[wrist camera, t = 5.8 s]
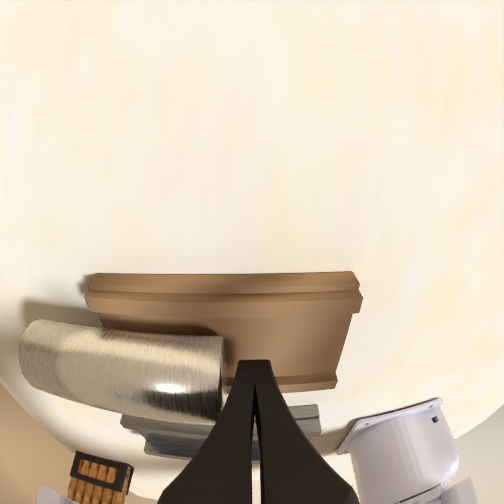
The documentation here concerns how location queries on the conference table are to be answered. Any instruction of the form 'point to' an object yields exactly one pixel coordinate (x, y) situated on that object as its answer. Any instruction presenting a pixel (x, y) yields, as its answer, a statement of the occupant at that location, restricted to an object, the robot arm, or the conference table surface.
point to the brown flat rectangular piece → (242, 316)
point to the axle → (128, 370)
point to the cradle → (204, 433)
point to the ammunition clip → (98, 480)
